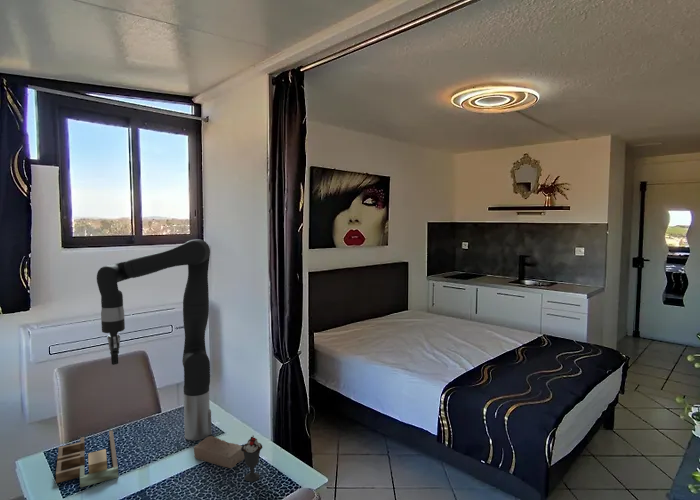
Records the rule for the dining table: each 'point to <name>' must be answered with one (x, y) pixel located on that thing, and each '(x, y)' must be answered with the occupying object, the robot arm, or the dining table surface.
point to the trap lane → (74, 459)
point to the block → (97, 461)
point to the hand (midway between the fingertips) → (114, 363)
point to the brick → (219, 452)
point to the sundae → (251, 457)
